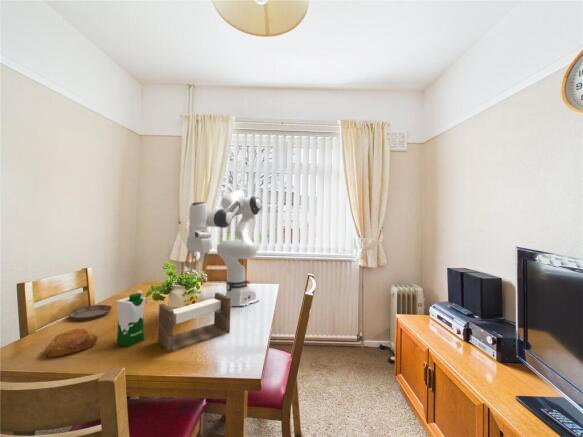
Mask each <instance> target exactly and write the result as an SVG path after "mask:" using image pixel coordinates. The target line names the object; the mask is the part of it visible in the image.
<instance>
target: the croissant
mask: <svg viewBox="0 0 583 437" xmlns="http://www.w3.org/2000/svg"><path fill="white" fill-rule="evenodd" d="M98 338H99V337H98V335H97V333H96V332H94V331H89V330H87V329H84V328H76V329H71V330H68V331H65V332H62V333H59V334H57V335H55V337H54V339H52V340H51V341H50V342H49V343H48V345H47V346H46V347H45V350H44V354H45V355H47V356H48V357H50V358H55V357H60V356H64V355H69V354H73V353H76V352H79V351H83V350H86V349H88V348H91V347H92V346H94V345H95V344H96V341H97V340H98Z"/></svg>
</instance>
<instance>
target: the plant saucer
mask: <svg viewBox="0 0 583 437" xmlns="http://www.w3.org/2000/svg"><path fill="white" fill-rule="evenodd" d="M111 310H112V306H111V305H107V304H96V305H95V304H92V305H87V306H83V307H78V308H76V309H74V310H72V311H70V312H69V313H68V315H69V317H70V318H71V319H73V320H74V321H78V322H85V321H93V320H97V319H100V318H103V317H104V316H106V315H108V314H109V313H110V311H111Z"/></svg>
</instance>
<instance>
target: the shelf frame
mask: <svg viewBox="0 0 583 437" xmlns="http://www.w3.org/2000/svg"><path fill="white" fill-rule="evenodd" d="M214 299H217V300H220V301H221V309H220V310H217V311H214V314H213V315H214V316H213V320H214V321H213V323H212V324H211V323H210V324H207V325H205V326H200V327H197V328H193V329H190V330H187V331H183V332H181V333H177V334H174V326H176V325H177V324H175V323H173V309H171V308H170V307H169V306H168V305H167V304H165V303H159V304H158V306H159V307H158V335H157V336H158V340H157V342H158V344H160V346H161V347H162V348H163V349H164V350H165V352H167V353H168V354H170V353H172V352H173V353H174V352H175V351H179V350H181V349H185V348H188V347H190V346H193V345H197V344H200V343H202V342H206V341H209V340H212V339H215V338H218V337H220V336H224V335H227V334H230V333H229V332H231V330H230V329H231V328H230V327H231V306H230V299H231V298H229V297H227V296H226V294H225V295H224V294H222V293H220V292H215V293H214Z"/></svg>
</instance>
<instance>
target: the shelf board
mask: <svg viewBox="0 0 583 437" xmlns="http://www.w3.org/2000/svg"><path fill="white" fill-rule="evenodd" d="M220 309H221V301H220V300H217V299H215V297H214V298H210V299H206V300H203V301H198V302H195V303H192V304H191V303H190V304H188V305H185V306H180V307H177V308H174V309H172V310H173V323H175V324H176V325H178V324H180V323H184V322H186V321H190V320H193V319H195V318H200V317H202V316H206V315H208V314H210V313H213V312H214V311H217V310H220Z"/></svg>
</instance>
